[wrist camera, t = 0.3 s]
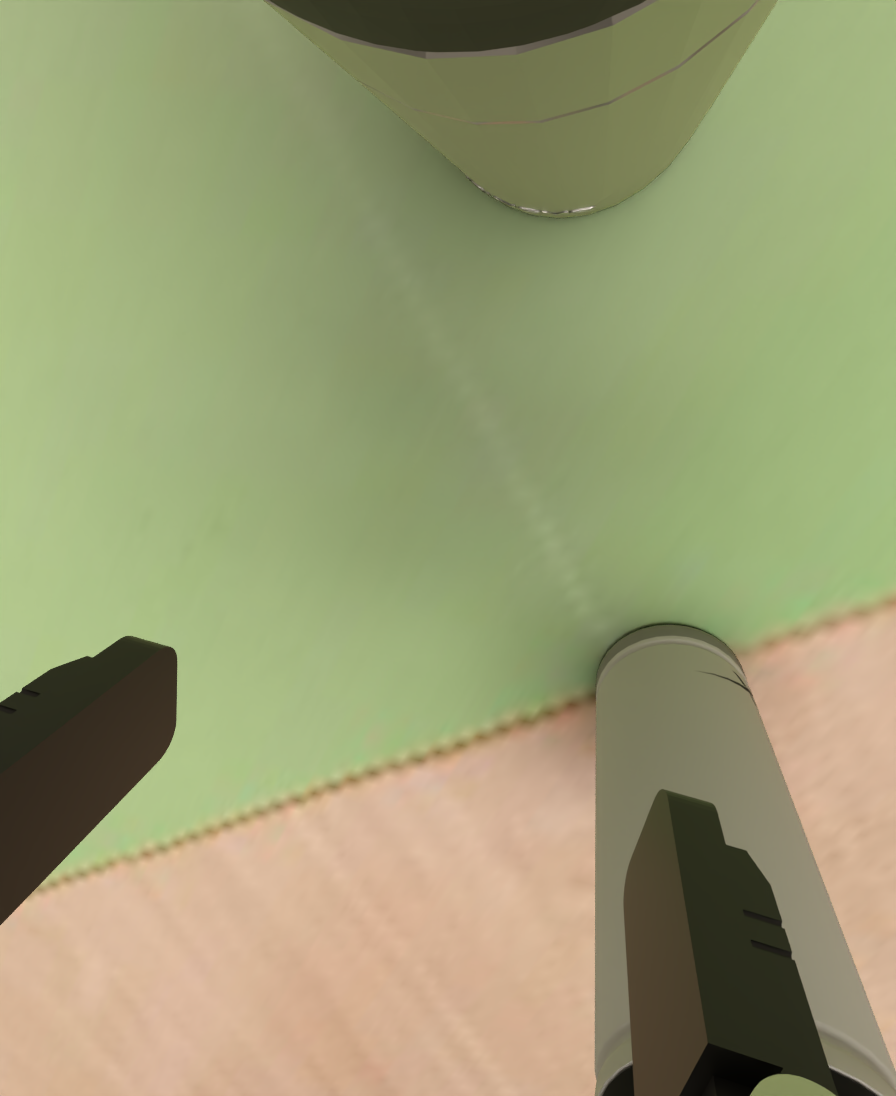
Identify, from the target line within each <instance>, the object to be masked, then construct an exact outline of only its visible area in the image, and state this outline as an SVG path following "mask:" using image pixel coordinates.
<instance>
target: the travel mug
mask: <svg viewBox="0 0 896 1096" xmlns="http://www.w3.org/2000/svg"><path fill="white" fill-rule="evenodd" d="M661 789H665V790H668V791H672V792H675V793H679V794H682V795H686V796H689V797H693V798H697V799H700V800H704V801H707V802H711V803H713V804H714V805H715V807H716V809H717V812H718V816H719V820H720V824H721V827H722V831H723V835H724V839H725V843H726V845H729V846H733V847H736V848H740V849H743V850H746V851H747V852H748V854H749V855H750V856H751V858H752V859H753V861H754V862H755V863H756V865H757V866H758V868H759V869H760V871H761V872H762V873H763V875H764V876H765V878H766V879H767V880H768V882H769V883H770V885H771V887H772V890H773V893H774V897H775V900H776V903H777V906H778V909H779V912H780V915H781V918H782V928H784V929H785V931H786V934H787V937H788V940H789V943H790V947H791V950H792V960H795V962H796V965H797V969H798V972H799V975H800V978H801V981H802V984H803V987H804V990H805V994H806V997H807V1000H808V1003H809V1006H810V1009H811V1012H812V1016H813V1019H814V1022H815V1025H816V1028H817V1031H818V1034H819V1037H820V1041H821V1044H822V1047H823V1050H824V1053H825V1056H826V1059H827V1063H828V1066H829V1069H830V1072H831V1075H832V1078H833V1081H834V1084H835V1087H836V1090H837V1093H838V1095H839V1096H896V1072H895V1069H894V1066H893V1064H892V1061H891V1058H890V1056H889V1053H888V1050H887V1048H886V1045H885V1043H884V1040H883V1037H882V1035H881V1032H880V1029H879V1027H878V1024H877V1022H876V1019H875V1016H874V1014H873V1011H872V1008H871V1006H870V1003H869V1000H868V998H867V995H866V993H865V990H864V987H863V985H862V982H861V979H860V977H859V974H858V972H857V969H856V966H855V964H854V961H853V958H852V956H851V953H850V951H849V948H848V945H847V943H846V940H845V937H844V935H843V932H842V929H841V927H840V924H839V922H838V919H837V916H836V914H835V911H834V908H833V906H832V903H831V901H830V898H829V895H828V893H827V890H826V887H825V885H824V882H823V879H822V877H821V874H820V872H819V869H818V866H817V864H816V861H815V858H814V856H813V853H812V851H811V848H810V845H809V843H808V840H807V837H806V835H805V832H804V829H803V827H802V824H801V822H800V819H799V816H798V814H797V811H796V808H795V806H794V803H793V801H792V798H791V795H790V793H789V790H788V787H787V785H786V782H785V780H784V777H783V774H782V772H781V769H780V766H779V764H778V761H777V758H776V756H775V753H774V751H773V748H772V745H771V743H770V740H769V737H768V735H767V732H766V730H765V727H764V724H763V722H762V719H761V716H760V714H759V711H758V708H757V706H756V703H755V701H754V698H753V695H752V693H751V690H750V688H749V686H748V682H747V680H746V677H745V674H744V672H743V669H742V666H741V664H740V663H739V661H738V659H737V658H736V656H735V654H734V653H733V652H732V651H731V650H730V649H729V648H728V647H727V646H726V645H725V644H724V643H723V642H721V641H720V640H718V639H717V638H716V637H714V636H712V635H710V634H708V633H706V632H704V631H701V630H699V629H695V628H691V627H687V626H680V625H658V626H652V627H648V628H644V629H640V630H638V631H635V632H633V633H631V634H629V635H627V636H625V637H624V638H622V639H621V640H619V641H618V642H616V644H615V645H614V646H613V647H612V648H611V649H610V650H609V651H608V652H607V653H606V655H605V656H604V658H603V660H602V661H601V663H600V666H599V669H598V672H597V679H596V822H595V1075H596V1080H597V1082H596V1090H595V1096H634V1079H633V1062H632V1045H631V1028H630V1011H629V994H628V977H627V960H626V943H625V926H624V908H623V897H624V886H625V879H626V874H627V870H628V866H629V862H630V860H631V857H632V854H633V852H634V849H635V847H636V844H637V842H638V839H639V837H640V834H641V831H642V829H643V826H644V824H645V821H646V819H647V816H648V814H649V811H650V809H651V806H652V803H653V801H654V799H655V796H656V795H657V793H658V792H659V790H661Z"/></svg>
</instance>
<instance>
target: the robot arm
mask: <svg viewBox="0 0 896 1096" xmlns="http://www.w3.org/2000/svg"><path fill="white" fill-rule="evenodd" d="M264 1H265V2H266V3H267V4H269V5H270V6H271V7H272V8H273V9H274V10H275V11H277V12H278V13H279V14H280V15H281V16H282V17H284V18H285V19H286V20H287V21H288V22H289V23H291V24H292V25H293V26H294V27H295V28H296V29H298V30H299V31H300V32H301V33H302V34H303V35H305V36H306V37H307V38H308V39H309V40H310V41H312V42H313V43H314V44H315V45H316V46H317V47H319V48H320V49H321V50H322V51H323V52H324V53H326V54H327V55H328V56H329V57H330V58H331V59H333V60H334V61H335V62H336V63H337V64H338V65H340V66H341V67H342V68H343V69H344V70H345V71H347V72H348V73H349V74H350V75H351V76H352V77H354V78H355V79H356V80H357V81H359V82H360V83H361V84H362V85H363V86H364V87H365V88H367V89H368V90H369V91H370V92H371V93H372V94H374V95H375V96H376V97H377V98H378V99H379V100H380V101H382V102H383V103H384V104H385V105H386V106H387V107H389V108H390V109H391V110H392V111H393V112H394V113H395V114H397V115H398V116H399V117H400V118H401V119H402V120H403V121H405V122H406V123H407V124H408V125H409V126H410V127H412V128H413V129H414V130H415V131H416V132H417V133H418V134H420V135H421V136H422V137H423V138H424V139H425V140H427V141H428V142H429V143H430V144H431V145H432V146H433V147H435V148H436V149H437V150H438V151H439V152H440V153H442V154H443V155H444V156H445V157H446V158H447V159H448V160H450V161H451V162H452V163H453V164H454V165H455V166H457V167H458V168H459V169H460V170H461V171H462V172H463V173H464V174H466V177H467V178H468V179H469V180H470V181H471V182H473V183H474V184H475V185H476V186H477V187H479V188H480V189H481V190H482V191H484V192H485V193H487V194H488V195H490V196H491V197H492V196H493V198H495V199H496V200H499V201H501V202H502V203H504V204H505V205H507V206H509V207H512V208H515V209H517V210H520V211H523V212H525V213H528V214H531V215H536V216H544V217H553V218H566V217H575V216H584V215H589V214H592V213H595V212H598V211H601V210H604V209H607V208H609V207H612V206H615V205H617V204H619V203H621V202H622V201H624V200H626V199H627V198H629V197H631V196H632V195H634V194H636V193H637V192H639V191H641V190H642V189H644V188H645V187H646V186H647V185H648V184H649V183H651V182H652V181H653V180H654V179H655V178H656V177H657V176H658V175H659V174H661V173H662V172H663V171H664V170H665V169H666V168H667V167H668V166H669V165H670V164H671V163H672V161H673V160H674V159H675V158H676V156H677V155H678V154H679V152H680V151H681V150H682V148H683V147H684V146H685V145H686V143H687V142H688V141H689V139H690V138H691V137H692V135H693V134H694V132H695V130H696V129H697V127H698V126H699V124H700V123H701V121H702V119H703V118H704V116H705V115H706V113H707V112H708V111H709V109H710V108H711V106H712V105H713V103H714V101H715V100H716V98H717V97H718V95H719V93H720V92H721V90H722V89H723V87H724V85H725V84H726V82H727V81H728V79H729V78H730V76H731V74H732V73H733V71H734V70H735V68H736V66H737V65H738V63H739V62H740V60H741V58H742V57H743V55H744V54H745V52H746V50H747V49H748V47H749V46H750V44H751V43H752V41H753V39H754V38H755V36H756V35H757V33H758V31H759V30H760V28H761V27H762V25H763V23H764V22H765V20H766V19H767V17H768V15H769V14H770V12H771V11H772V9H773V7H774V6H775V4H776V3H777V1H778V0H264ZM176 706H177V655H176V652H175V650H174V649H173V648H171V647H168V646H165V645H161V644H158V643H154V642H151V641H147V640H144V639H140V638H137V637H133V636H125V637H123V638H121V639H119V640H118V641H116V642H115V643H113V644H112V645H111V646H109V647H108V648H106V649H105V650H103V651H102V652H100V653H99V654H98V655H96V656H95V657H93V658H92V657H88V656H86V657H83V658H80V659H78V660H75V661H72V662H69V663H66V664H64V665H61V666H58V667H55V668H53V669H50V670H49V671H47V672H46V673H44V674H43V675H41V676H40V677H38V678H37V679H35V680H34V681H32V682H31V683H29V684H28V685H26V686H25V687H23V688H22V691H21V692H20V693H18V692H16V693H14V694H13V695H11V696H10V697H8V698H6V699H5V700H3V701H2V702H0V925H1V924H2V923H3V922H4V921H5V920H6V919H7V918H8V917H9V916H10V915H11V914H12V913H13V912H14V911H15V910H16V909H17V908H18V906H19V905H20V904H21V903H22V902H23V901H24V900H25V899H26V898H27V897H28V896H29V895H30V894H31V893H32V892H33V891H34V890H35V889H36V888H37V887H38V886H39V885H40V884H41V883H42V882H43V881H44V880H45V878H46V877H47V876H48V875H49V874H50V873H51V872H52V871H53V870H54V869H55V868H56V867H57V866H58V865H59V864H60V863H61V862H62V861H63V860H64V859H65V858H66V857H67V856H68V855H69V854H70V853H71V851H72V850H73V849H74V848H75V847H76V846H77V845H78V844H79V843H80V842H81V841H82V840H83V839H84V838H85V837H86V836H87V835H88V834H89V833H90V832H91V831H92V830H93V829H94V828H95V827H96V826H97V825H98V823H99V822H100V821H101V820H102V819H103V818H104V817H105V816H106V815H107V814H108V813H109V812H110V811H111V810H112V809H113V808H114V807H115V806H116V805H117V804H118V803H119V802H120V801H121V800H122V799H123V798H124V797H125V795H126V794H127V793H128V792H129V791H130V790H131V789H132V788H133V787H134V786H135V785H136V784H137V783H138V782H139V781H140V780H141V779H142V778H143V777H144V776H145V775H146V774H147V773H148V772H149V771H150V770H151V768H152V767H153V766H154V765H155V764H156V763H157V762H158V761H159V760H160V759H161V758H162V756H163V755H164V754H165V752H166V750H167V749H168V747H169V745H170V743H171V740H172V738H173V735H174V731H175V727H176ZM623 908H624V926H625V943H626V960H627V977H628V994H629V1011H630V1028H631V1045H632V1062H633V1079H634V1096H839V1095H838V1093H837V1090H836V1087H835V1084H834V1081H833V1078H832V1075H831V1072H830V1069H829V1066H828V1063H827V1059H826V1056H825V1053H824V1050H823V1047H822V1044H821V1041H820V1037H819V1034H818V1031H817V1028H816V1025H815V1022H814V1019H813V1016H812V1012H811V1009H810V1006H809V1003H808V1000H807V997H806V994H805V990H804V987H803V984H802V981H801V978H800V975H799V972H798V969H797V965H796V962H795V960H792V950H791V947H790V943H789V940H788V937H787V934H786V931H785V929H784V928H782V918H781V915H780V912H779V909H778V906H777V903H776V900H775V897H774V893H773V890H772V887H771V885H770V883H769V882H768V880H767V879H766V878H765V876H764V875H763V873H762V872H761V871H760V869H759V868H758V866H757V865H756V863H755V862H754V861H753V859H752V858H751V856H750V855H749V854H748V852H747V851H746V850H743V849H740V848H736V847H733V846H729V845H726V843H725V839H724V835H723V831H722V827H721V824H720V820H719V816H718V812H717V809H716V807H715V805H714V804H713V803H711V802H707V801H704V800H700V799H697V798H693V797H689V796H686V795H682V794H679V793H675V792H672V791H668V790H665V789H661V790H659V792H658V793H657V795H656V796H655V799H654V801H653V803H652V806H651V809H650V811H649V814H648V816H647V819H646V821H645V824H644V826H643V829H642V831H641V834H640V837H639V839H638V842H637V844H636V847H635V849H634V852H633V854H632V857H631V860H630V862H629V866H628V870H627V874H626V879H625V886H624V897H623Z"/></svg>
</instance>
